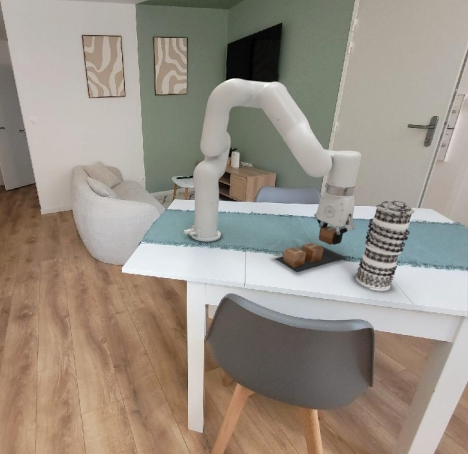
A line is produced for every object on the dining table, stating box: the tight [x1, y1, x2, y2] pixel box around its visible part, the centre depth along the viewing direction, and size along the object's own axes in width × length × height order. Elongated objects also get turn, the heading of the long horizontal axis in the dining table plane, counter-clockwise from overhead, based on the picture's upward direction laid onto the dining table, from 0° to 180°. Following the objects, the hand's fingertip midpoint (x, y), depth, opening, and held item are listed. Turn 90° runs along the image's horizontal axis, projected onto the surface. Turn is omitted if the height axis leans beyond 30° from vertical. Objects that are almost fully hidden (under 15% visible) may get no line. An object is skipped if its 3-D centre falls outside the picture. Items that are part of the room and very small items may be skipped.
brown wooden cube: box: [283, 246, 306, 268], centre depth 98 cm, size 5×5×5 cm
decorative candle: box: [355, 200, 415, 292], centre depth 82 cm, size 9×9×25 cm
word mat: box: [274, 245, 346, 273], centre depth 101 cm, size 22×10×1 cm, turn 111°
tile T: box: [318, 225, 336, 246], centre depth 100 cm, size 5×5×5 cm
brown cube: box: [300, 242, 323, 263], centre depth 100 cm, size 5×5×5 cm
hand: (329, 240), depth 101 cm, fingers closed on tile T, 4 cm apart
